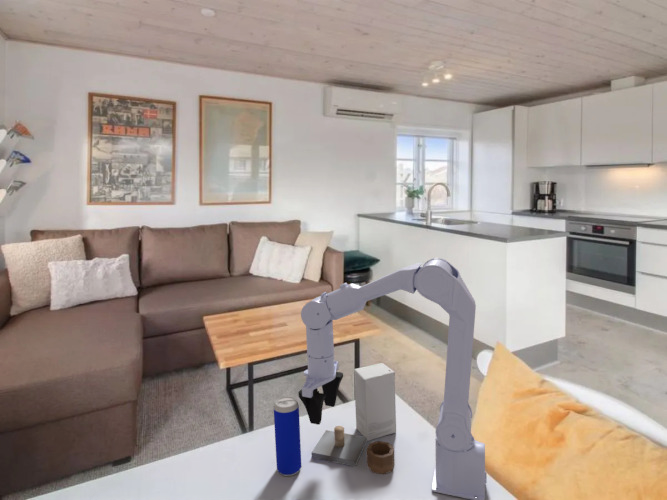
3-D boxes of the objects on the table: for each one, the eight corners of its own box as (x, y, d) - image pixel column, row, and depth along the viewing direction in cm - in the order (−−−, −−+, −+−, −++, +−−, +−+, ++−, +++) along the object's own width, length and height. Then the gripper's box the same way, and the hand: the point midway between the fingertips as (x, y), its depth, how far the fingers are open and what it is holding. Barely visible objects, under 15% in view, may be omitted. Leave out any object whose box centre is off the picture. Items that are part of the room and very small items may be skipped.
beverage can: (302, 460, 87) (299, 395, 85) (301, 476, 82) (297, 407, 80) (278, 462, 87) (274, 396, 85) (275, 478, 82) (271, 408, 80)
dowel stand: (366, 441, 93) (366, 421, 92) (355, 466, 85) (354, 444, 84) (326, 434, 96) (325, 415, 96) (311, 457, 88) (310, 436, 87)
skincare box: (384, 420, 102) (383, 361, 100) (397, 434, 96) (397, 371, 94) (354, 428, 99) (352, 367, 97) (366, 442, 93) (364, 378, 91)
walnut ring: (395, 459, 86) (395, 443, 86) (390, 475, 81) (390, 459, 81) (371, 454, 88) (371, 439, 88) (365, 470, 83) (364, 454, 83)
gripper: (318, 340, 94) (320, 395, 95) (287, 364, 80) (290, 428, 82) (346, 343, 91) (348, 400, 92) (319, 368, 78) (321, 434, 79)
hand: (323, 413), depth 87 cm, fingers open, 7 cm apart
